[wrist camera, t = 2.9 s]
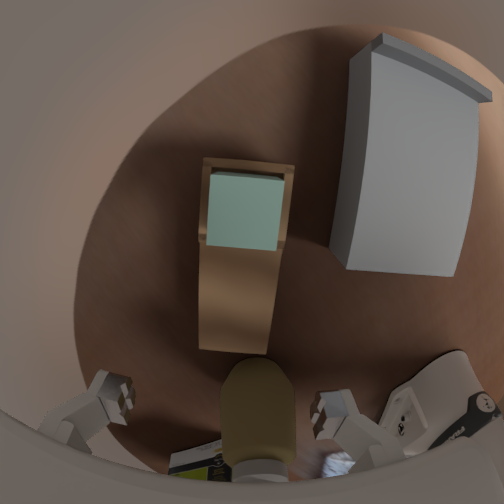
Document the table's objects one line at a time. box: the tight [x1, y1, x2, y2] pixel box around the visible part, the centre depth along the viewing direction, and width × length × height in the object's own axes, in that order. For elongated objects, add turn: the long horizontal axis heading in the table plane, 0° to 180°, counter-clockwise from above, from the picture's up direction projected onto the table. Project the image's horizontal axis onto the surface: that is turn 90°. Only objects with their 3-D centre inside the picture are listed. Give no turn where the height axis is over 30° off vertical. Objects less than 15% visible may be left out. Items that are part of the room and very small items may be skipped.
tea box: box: [168, 439, 233, 482], centre depth 30 cm, size 15×10×15 cm, turn 128°
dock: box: [329, 32, 492, 277], centre depth 18 cm, size 18×12×7 cm, turn 174°
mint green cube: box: [206, 171, 285, 251], centre depth 17 cm, size 4×4×4 cm
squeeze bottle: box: [220, 357, 296, 483], centre depth 21 cm, size 8×8×18 cm
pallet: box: [198, 157, 295, 354], centre depth 22 cm, size 16×6×5 cm, turn 175°
